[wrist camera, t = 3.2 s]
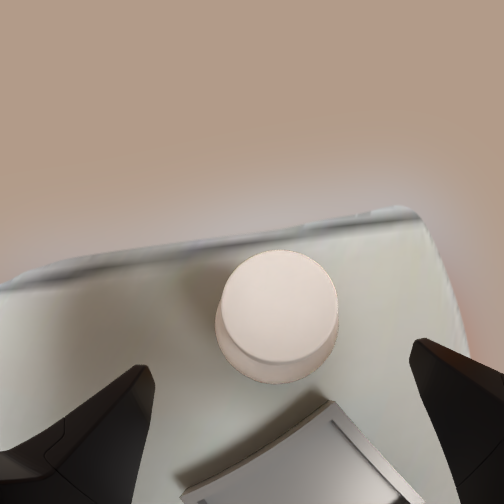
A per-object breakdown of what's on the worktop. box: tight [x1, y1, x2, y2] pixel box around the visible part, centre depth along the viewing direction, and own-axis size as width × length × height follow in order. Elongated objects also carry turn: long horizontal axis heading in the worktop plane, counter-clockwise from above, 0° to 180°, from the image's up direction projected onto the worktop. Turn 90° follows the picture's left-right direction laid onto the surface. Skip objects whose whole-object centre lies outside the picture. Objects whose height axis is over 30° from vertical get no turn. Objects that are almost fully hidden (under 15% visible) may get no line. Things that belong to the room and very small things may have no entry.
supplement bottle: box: [215, 250, 339, 384], centre depth 13 cm, size 5×5×10 cm
